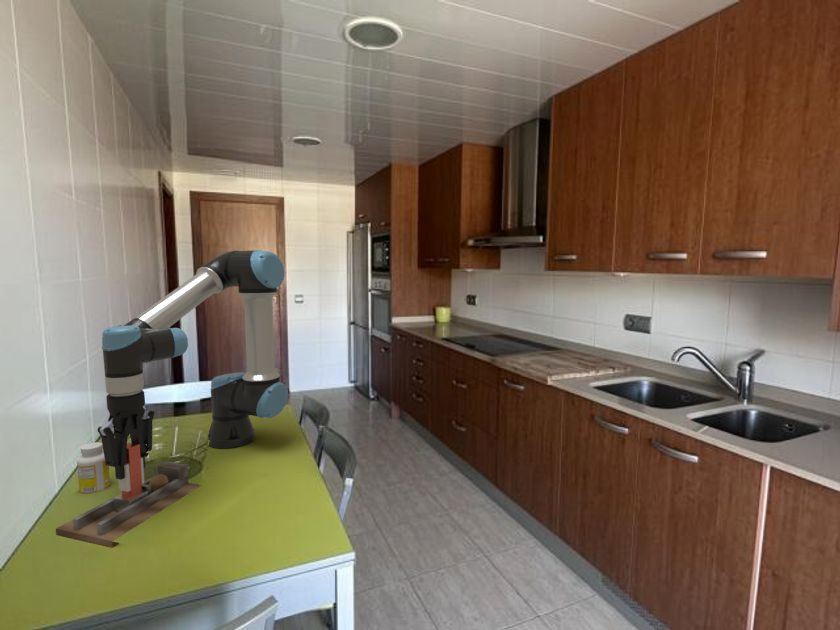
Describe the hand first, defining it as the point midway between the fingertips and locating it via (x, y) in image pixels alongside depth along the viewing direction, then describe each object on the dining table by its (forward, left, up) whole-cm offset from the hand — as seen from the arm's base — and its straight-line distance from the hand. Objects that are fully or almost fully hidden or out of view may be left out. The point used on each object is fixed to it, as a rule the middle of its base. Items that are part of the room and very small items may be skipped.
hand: (131, 486), depth 109 cm
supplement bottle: (-5, -18, -7) cm, 20 cm away
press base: (-1, 0, -7) cm, 7 cm away
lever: (0, 0, -5) cm, 5 cm away
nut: (-8, 0, -5) cm, 9 cm away
